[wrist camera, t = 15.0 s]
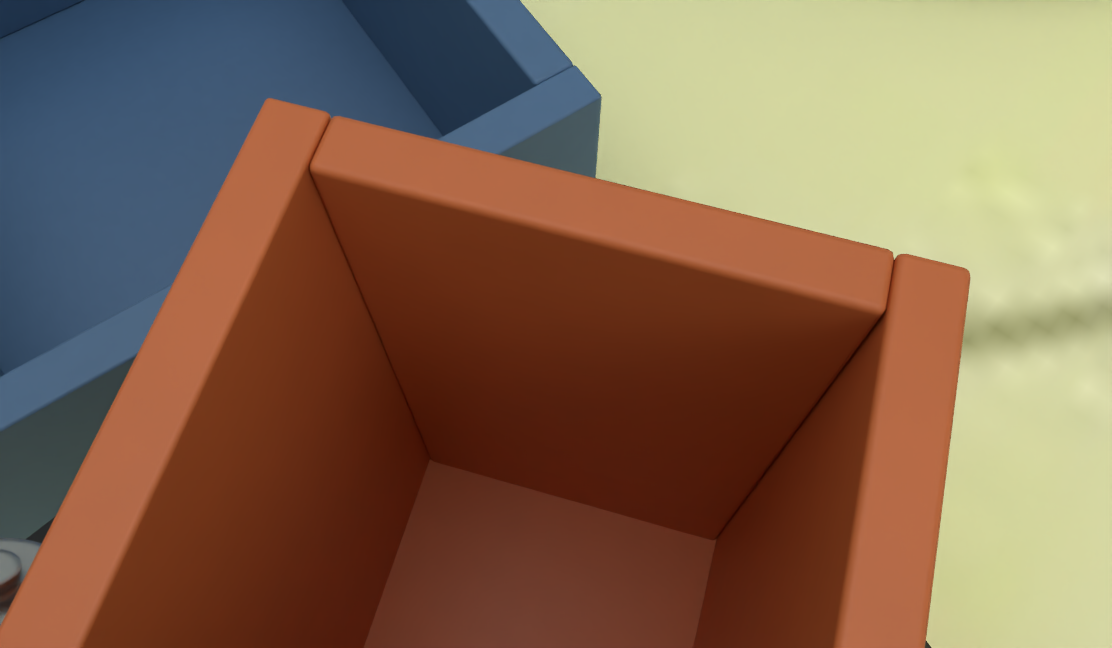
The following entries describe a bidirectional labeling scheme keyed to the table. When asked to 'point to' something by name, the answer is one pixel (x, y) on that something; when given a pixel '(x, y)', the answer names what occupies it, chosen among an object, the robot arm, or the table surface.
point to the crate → (507, 420)
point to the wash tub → (206, 164)
